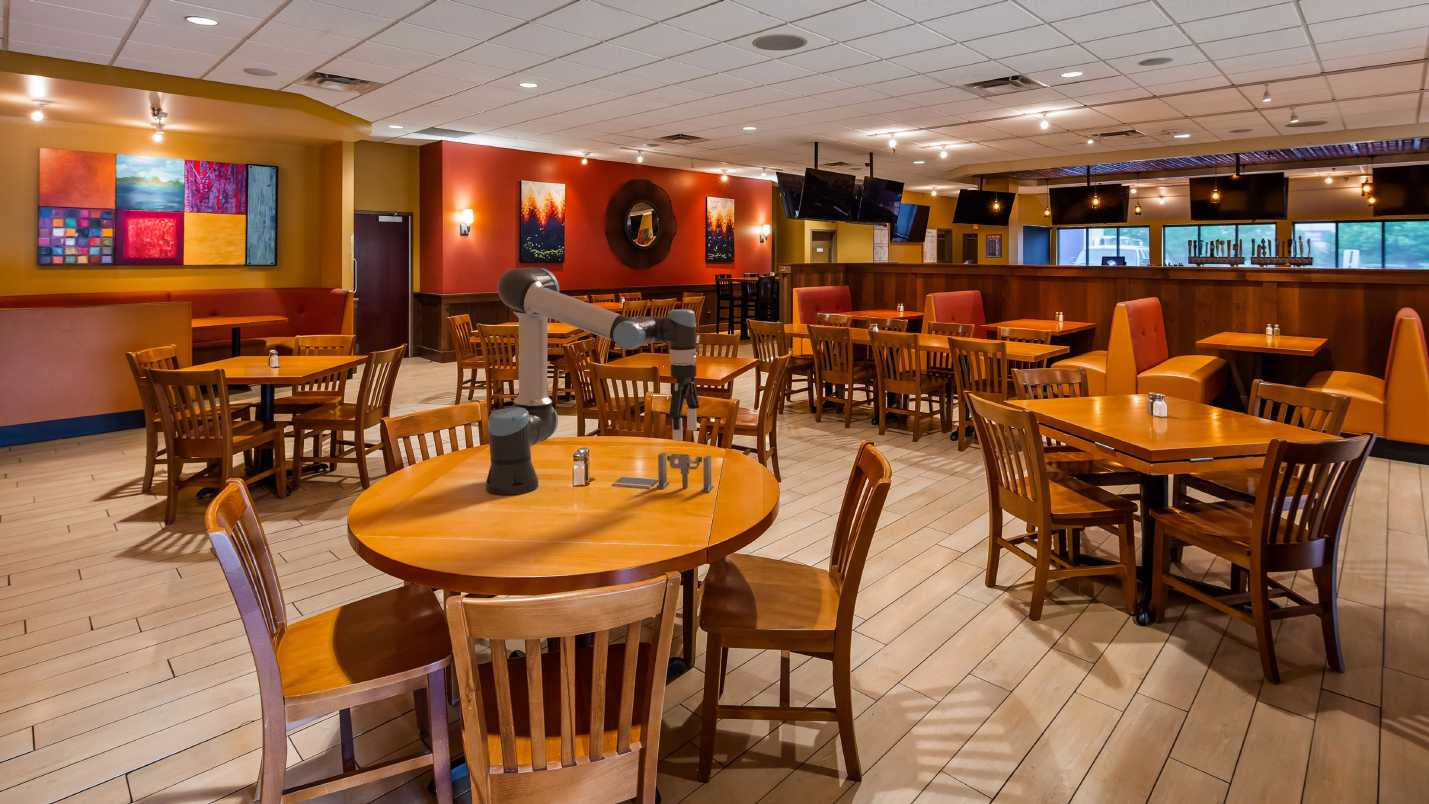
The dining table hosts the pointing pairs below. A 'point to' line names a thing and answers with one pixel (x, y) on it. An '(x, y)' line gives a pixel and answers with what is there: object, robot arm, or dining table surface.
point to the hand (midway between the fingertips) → (685, 435)
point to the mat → (636, 482)
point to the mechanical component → (683, 465)
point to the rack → (663, 473)
